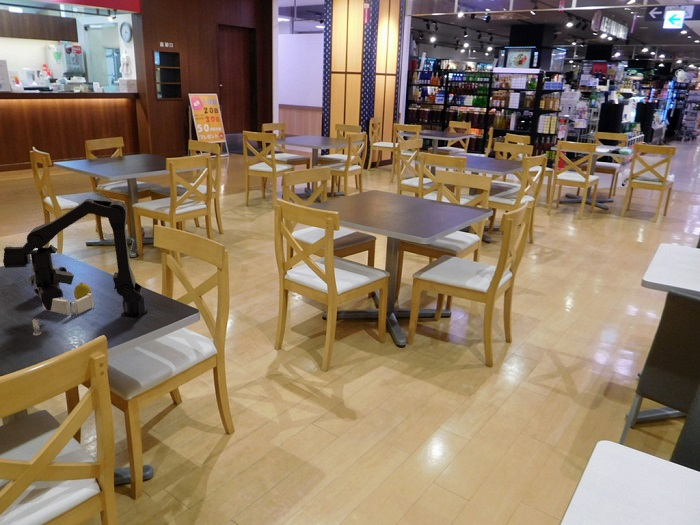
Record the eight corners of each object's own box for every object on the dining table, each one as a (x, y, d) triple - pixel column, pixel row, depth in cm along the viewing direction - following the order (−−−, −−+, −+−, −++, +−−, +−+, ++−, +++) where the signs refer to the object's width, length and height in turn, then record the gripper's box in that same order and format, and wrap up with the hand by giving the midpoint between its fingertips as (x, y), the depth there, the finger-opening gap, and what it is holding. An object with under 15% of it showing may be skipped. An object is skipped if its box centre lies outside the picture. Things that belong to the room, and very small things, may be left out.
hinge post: (77, 315, 187) (75, 302, 186) (73, 317, 186) (72, 303, 184) (73, 314, 188) (72, 301, 186) (70, 316, 186) (68, 303, 185)
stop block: (67, 307, 193) (66, 299, 192) (60, 310, 191) (59, 302, 190) (60, 305, 194) (59, 298, 193) (54, 308, 192) (53, 301, 191)
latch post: (43, 333, 174) (41, 318, 172) (37, 336, 172) (35, 321, 170) (37, 331, 175) (35, 317, 173) (31, 334, 172) (29, 320, 171)
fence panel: (94, 307, 194) (92, 294, 193) (79, 314, 188) (77, 300, 186) (90, 306, 195) (88, 293, 193) (75, 314, 188) (73, 300, 187)
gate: (70, 313, 188) (69, 300, 186) (67, 314, 186) (65, 301, 185) (46, 308, 191) (44, 295, 189) (42, 309, 189) (41, 296, 188)
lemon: (72, 304, 196) (69, 283, 194) (85, 299, 201) (83, 279, 198) (82, 307, 194) (79, 286, 191) (95, 302, 198) (93, 282, 196)
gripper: (77, 269, 175) (82, 314, 180) (62, 254, 189) (67, 296, 194) (38, 276, 168) (45, 322, 173) (26, 260, 182) (32, 303, 187)
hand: (48, 310), depth 182 cm, fingers closed
